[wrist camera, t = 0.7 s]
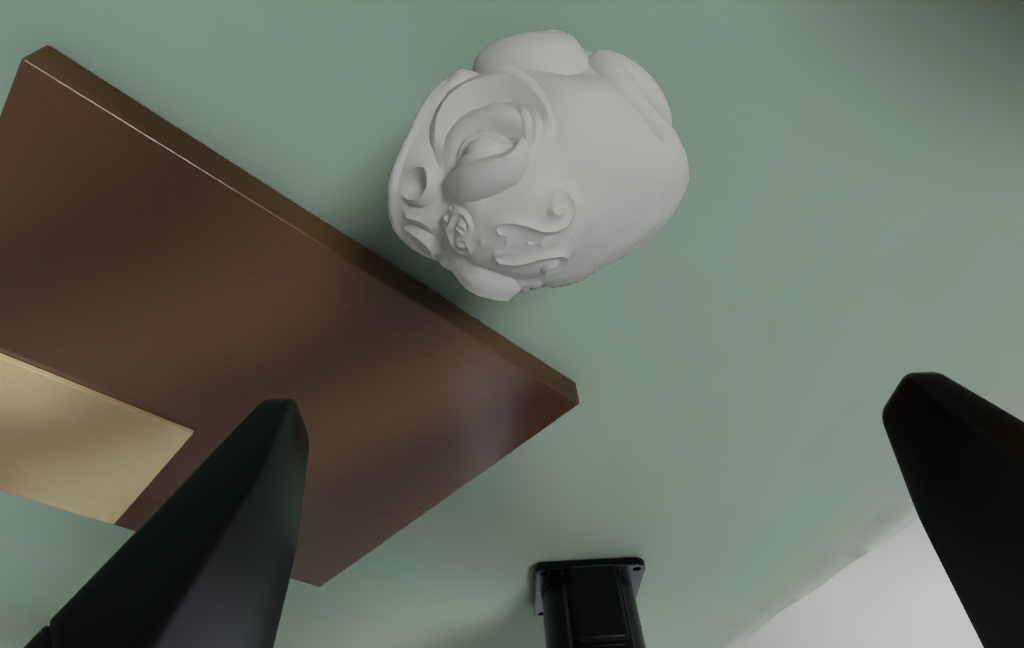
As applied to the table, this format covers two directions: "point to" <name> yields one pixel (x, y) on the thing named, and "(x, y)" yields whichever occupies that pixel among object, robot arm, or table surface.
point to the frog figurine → (537, 166)
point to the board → (222, 332)
